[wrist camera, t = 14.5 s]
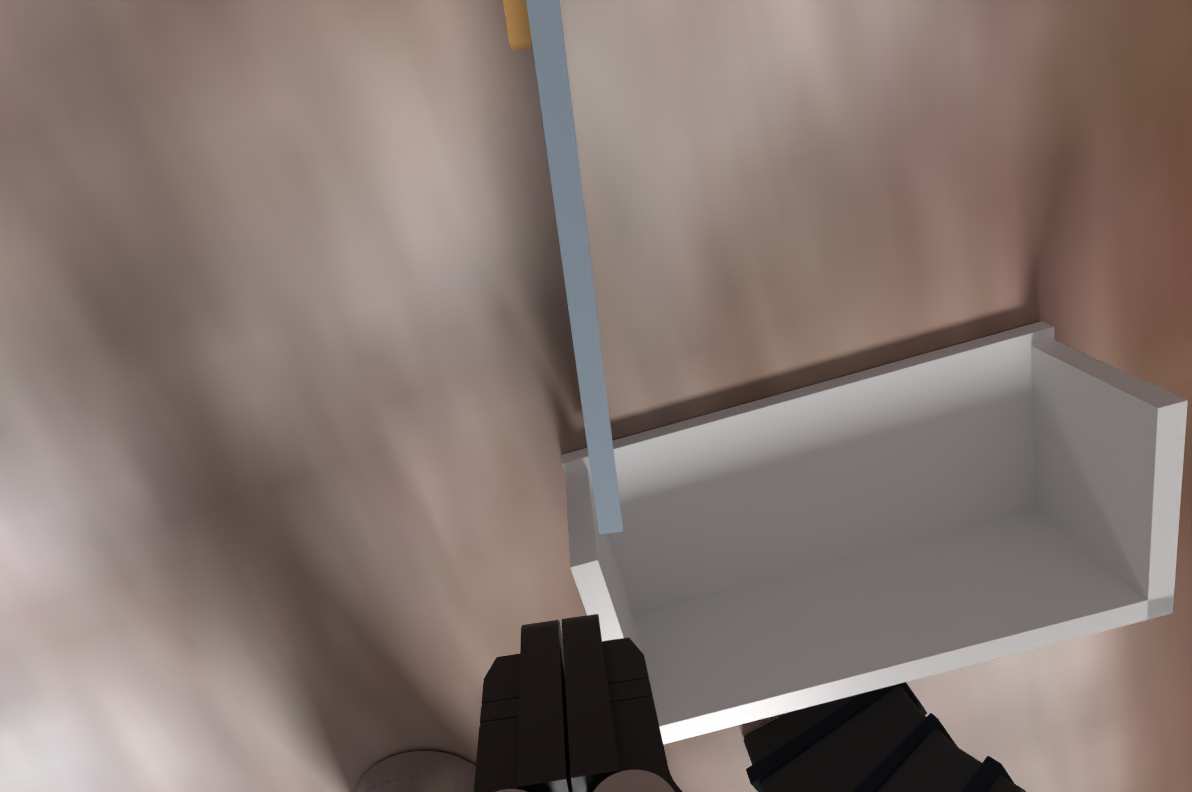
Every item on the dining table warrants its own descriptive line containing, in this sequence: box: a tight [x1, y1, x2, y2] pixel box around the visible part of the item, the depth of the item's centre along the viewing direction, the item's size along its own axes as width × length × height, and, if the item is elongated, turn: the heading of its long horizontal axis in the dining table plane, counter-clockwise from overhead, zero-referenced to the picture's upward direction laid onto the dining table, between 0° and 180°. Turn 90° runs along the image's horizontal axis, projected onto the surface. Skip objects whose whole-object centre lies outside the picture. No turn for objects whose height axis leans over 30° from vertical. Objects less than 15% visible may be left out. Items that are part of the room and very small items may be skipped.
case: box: [561, 321, 1187, 744], centre depth 35 cm, size 12×26×9 cm, turn 105°
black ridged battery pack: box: [744, 682, 1026, 792], centre depth 41 cm, size 4×13×15 cm, turn 125°
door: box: [503, 0, 623, 535], centre depth 28 cm, size 2×23×8 cm, turn 6°
